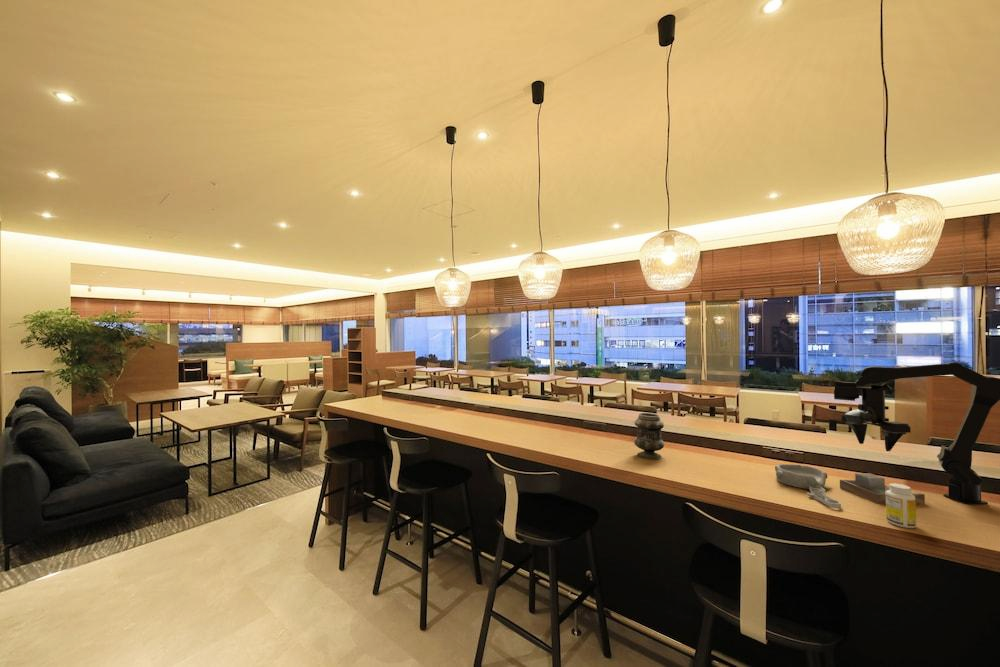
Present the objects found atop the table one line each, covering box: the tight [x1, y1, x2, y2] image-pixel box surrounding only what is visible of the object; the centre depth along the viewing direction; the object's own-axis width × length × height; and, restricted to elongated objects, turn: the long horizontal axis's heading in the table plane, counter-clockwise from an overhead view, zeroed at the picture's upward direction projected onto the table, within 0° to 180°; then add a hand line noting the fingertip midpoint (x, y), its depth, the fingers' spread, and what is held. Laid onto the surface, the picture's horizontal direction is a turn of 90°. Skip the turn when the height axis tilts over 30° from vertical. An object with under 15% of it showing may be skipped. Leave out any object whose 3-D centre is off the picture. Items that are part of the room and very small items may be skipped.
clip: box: [854, 472, 886, 494], centre depth 120 cm, size 5×4×5 cm
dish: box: [774, 463, 829, 490], centre depth 130 cm, size 14×14×5 cm
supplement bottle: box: [885, 482, 917, 529], centre depth 101 cm, size 6×6×10 cm
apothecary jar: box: [633, 412, 665, 461], centre depth 162 cm, size 12×12×18 cm
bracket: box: [806, 486, 842, 509], centre depth 117 cm, size 8×2×15 cm
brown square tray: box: [839, 479, 926, 505], centre depth 120 cm, size 14×13×3 cm
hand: (874, 447), depth 131 cm, fingers open, 9 cm apart
